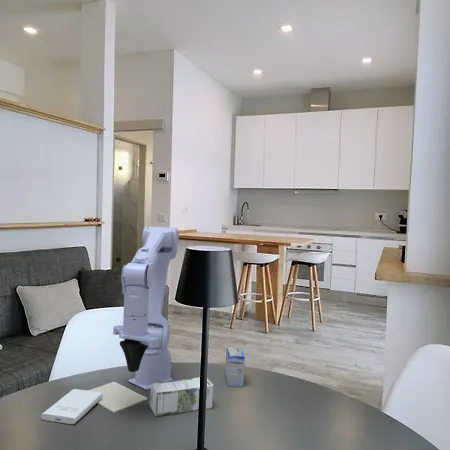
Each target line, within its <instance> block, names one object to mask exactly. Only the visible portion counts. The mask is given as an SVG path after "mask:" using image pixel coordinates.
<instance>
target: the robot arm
mask: <svg viewBox="0 0 450 450" xmlns="http://www.w3.org/2000/svg"><path fill="white" fill-rule="evenodd" d="M179 234H180V233H179V229H178V228H177V227H176V226H174V227H163V226H149V225H146V226H145V227H144V228H143V230H142V236H141V237H142V245H143V246H142V247H141V248H138V250H137V251H136V253H135V255H134V256H133V258H132V260H131V262H128V263H127V264H124V265H123V267H122V269H121V279H120V280H121V285H122V290H121V291H122V295H124V296H123V318H122V319H123V321H122V325H121V324H118V325H115V326H113V328H112V329H113V332H112V333H113V334H112V335H115V336H118V338H120V339H122V340H121V341H120V342H119V346H120V348H121V349H122V352H123V354H124V357H125V361H126V366H127V370H128V372H129V373H134V372H135V377H133V378H129V379H128V382H129V383H131V384H133V385H135V386H137V387H139V388H141V389H143V390H145V391H148V390H151V383H157V382H166V381H173V378H172V377H171V372H172V371H171V370H172V355H171V352H170V350H169V349H168V348H169V343H170V335H171V334H170V328H171V326H170V323H169V322H170V321H169V320H167V318H165V317H164V316H163V315H162V313H163V307H164V299H165V292H166V285H167V278H168V269H169V266H170V263H171V260H173V259H175V258H176V257H177V254H178V249H179V248H178V247H179V242H180V241H179V239H180V235H179Z"/></svg>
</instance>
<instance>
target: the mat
mask: <svg viewBox="0 0 450 450" xmlns="http://www.w3.org/2000/svg"><path fill="white" fill-rule="evenodd" d="M87 391H94V392H101V393H102V394H103V396H102V399H100V400H99V401H98V402H97V403H96V404H97V405H98V406H101V407H102V408H104V409H106V410H107V411H109V412H110V413H112V414H115V413H118V412H120V411H123V410H126V409H128V408H130V407H133V406H135V405H138V404H140V403H143V402H145V401H147V400H148V397H147V396H144V395H142V394H140V393H138V392H136V391H135V390H132V389H130V388H128V387H126V386H124V385H122V384H120V383H118V382H116V381H112V382H108V383H106V384H103V385H100V386H97V387H94V388H91V389H88V390H87Z"/></svg>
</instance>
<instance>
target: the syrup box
mask: <svg viewBox="0 0 450 450" xmlns="http://www.w3.org/2000/svg"><path fill="white" fill-rule="evenodd" d="M199 389H200V377H192V378H191V377H190V378H184V379H177V380H172V381H166V382H157V383H151V389H150V401H149V407H150V409H151V412H152V413H153V414H154V416H155V417H160V416H165V415H166V416H167V415H174V414H181V413H188V412H194V411H199V410H198V406H199ZM213 393H214V384H213V383H212V381H211V380H210V379H209V378H207V399H206V409H205V410H207V409H212V408H213V397H214V396H213V395H214V394H213Z"/></svg>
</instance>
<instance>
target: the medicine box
mask: <svg viewBox="0 0 450 450" xmlns="http://www.w3.org/2000/svg"><path fill="white" fill-rule="evenodd" d="M225 351H226V353H225V368H224V376H225V381H226V384H227V387H229V388H230V387H237V388H238V387H240V388H242V387H244V380H245V361H246V360H245V359H246V358H245V355H244V353H243V350H242V348H241V347H238V346H226V350H225Z"/></svg>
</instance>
